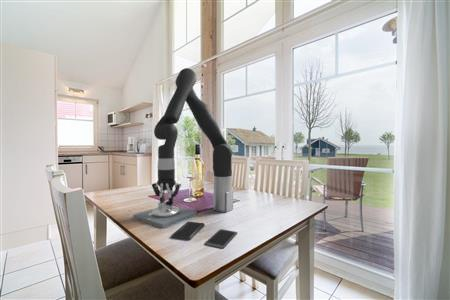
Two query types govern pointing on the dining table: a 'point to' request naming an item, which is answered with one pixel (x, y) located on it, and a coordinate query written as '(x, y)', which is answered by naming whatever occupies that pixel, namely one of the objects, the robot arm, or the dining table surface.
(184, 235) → the phone
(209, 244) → the cell phone
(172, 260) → the dining table surface
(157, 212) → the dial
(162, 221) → the dial base
